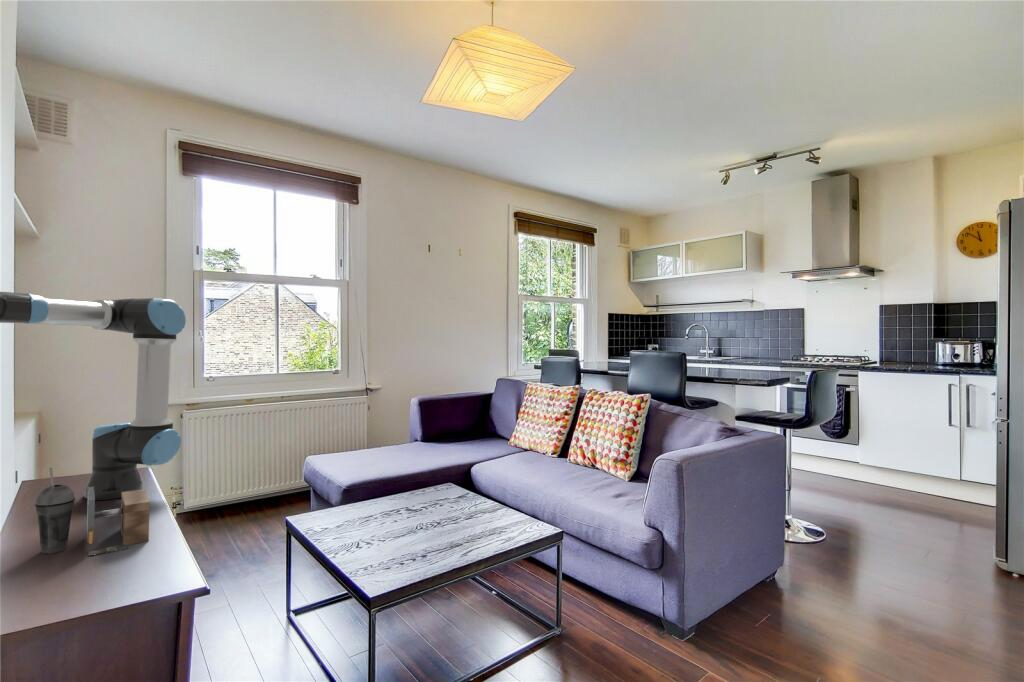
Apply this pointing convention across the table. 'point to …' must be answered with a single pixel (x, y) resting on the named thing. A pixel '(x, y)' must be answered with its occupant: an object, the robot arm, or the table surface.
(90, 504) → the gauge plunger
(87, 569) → the table surface
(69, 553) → the table surface
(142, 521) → the brown boxy piece
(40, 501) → the beverage cup
